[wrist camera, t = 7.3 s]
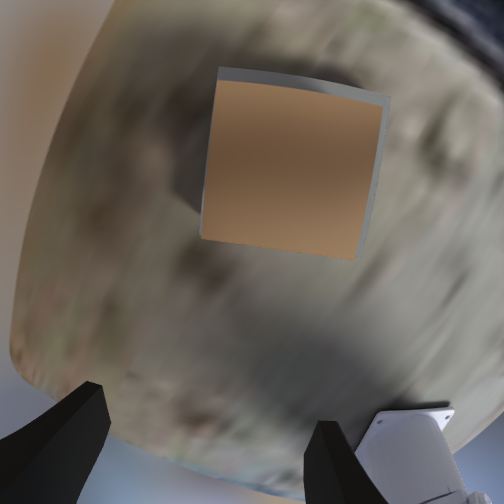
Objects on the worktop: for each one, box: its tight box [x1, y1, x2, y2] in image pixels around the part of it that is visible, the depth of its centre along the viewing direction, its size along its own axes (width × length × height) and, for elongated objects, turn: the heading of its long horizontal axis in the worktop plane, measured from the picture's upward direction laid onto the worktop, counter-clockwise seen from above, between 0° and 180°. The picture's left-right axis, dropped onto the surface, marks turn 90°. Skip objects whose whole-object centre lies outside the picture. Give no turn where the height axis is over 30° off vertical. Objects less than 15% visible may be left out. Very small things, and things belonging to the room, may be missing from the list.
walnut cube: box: [201, 80, 383, 260], centre depth 12 cm, size 5×5×5 cm
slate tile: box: [199, 67, 391, 257], centre depth 16 cm, size 8×8×3 cm
